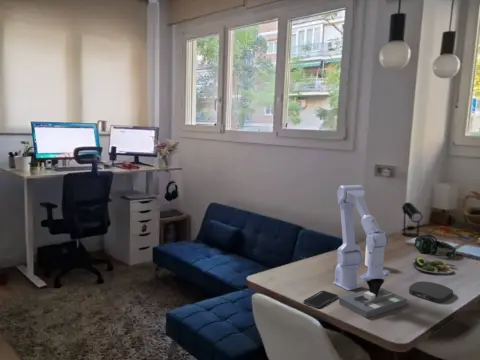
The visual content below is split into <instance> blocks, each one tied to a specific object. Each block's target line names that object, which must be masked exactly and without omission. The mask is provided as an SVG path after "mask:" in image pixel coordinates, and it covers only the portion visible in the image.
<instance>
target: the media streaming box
mask: <svg viewBox="0 0 480 360" xmlns="http://www.w3.org/2000/svg"><path fill="white" fill-rule="evenodd" d="M408 293H409V294H410V295H412V296H414V297H416V298H417V297H418V298H419V299H423V300H425V301H429V302H433V303H437V304H438V303H439V304H443V303H445V302H447V301H449V300H450V299H451V298H453V296H454V290H453V289H451V288H450V287H447V286H445V285H443V284H440V283H436V282H432V281H421V280H419V281H416V282H414V283H411V285H409V287H408Z"/></svg>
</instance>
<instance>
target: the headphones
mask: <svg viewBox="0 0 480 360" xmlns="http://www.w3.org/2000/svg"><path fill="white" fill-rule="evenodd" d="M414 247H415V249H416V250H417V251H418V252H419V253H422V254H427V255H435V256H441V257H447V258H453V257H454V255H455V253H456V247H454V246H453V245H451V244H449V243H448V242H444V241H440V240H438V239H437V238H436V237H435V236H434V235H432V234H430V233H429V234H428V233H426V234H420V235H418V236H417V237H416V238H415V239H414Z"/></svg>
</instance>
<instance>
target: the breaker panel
mask: <svg viewBox="0 0 480 360" xmlns="http://www.w3.org/2000/svg"><path fill="white" fill-rule="evenodd" d="M367 291H369V292H370V290H369V289H365V290H361V291H358V292H354V293H351V294H348V295H347V294H346V295H344V296H340V297H338V298H339V301H338V303H339V305H341V306H343V307H345V308H346V309H349V310H350V311H352V312H354V313H356V314H357V315H360V316H361V317H363V318H366V319H368V318H371V317H374V316H377V315H380V314H384V313H386V312H390V311H393V310H395V309H398V308H402V307H404V306H407V298H406V297H403V296H401V295H398V294H397V293H394V292H392V291H389V290H387V289H384V288H383V287H380V289H379V292H378V295H377V297H375V298H374V299H371V300H368V299H366V298H364V292H367Z"/></svg>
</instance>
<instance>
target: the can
mask: <svg viewBox="0 0 480 360" xmlns="http://www.w3.org/2000/svg"><path fill="white" fill-rule="evenodd" d="M368 255H369V251H368V249H367V244H366V245H365V254H364V256H365V257H364V265H365V267H366V268H368Z"/></svg>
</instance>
